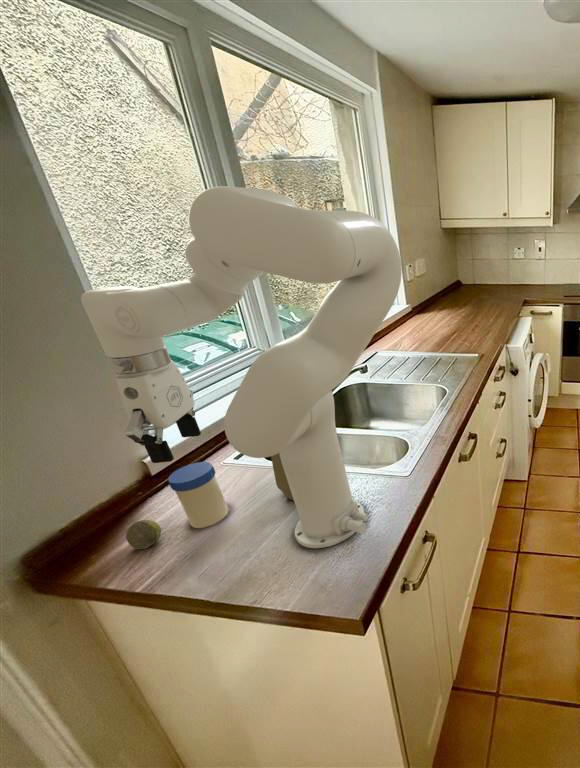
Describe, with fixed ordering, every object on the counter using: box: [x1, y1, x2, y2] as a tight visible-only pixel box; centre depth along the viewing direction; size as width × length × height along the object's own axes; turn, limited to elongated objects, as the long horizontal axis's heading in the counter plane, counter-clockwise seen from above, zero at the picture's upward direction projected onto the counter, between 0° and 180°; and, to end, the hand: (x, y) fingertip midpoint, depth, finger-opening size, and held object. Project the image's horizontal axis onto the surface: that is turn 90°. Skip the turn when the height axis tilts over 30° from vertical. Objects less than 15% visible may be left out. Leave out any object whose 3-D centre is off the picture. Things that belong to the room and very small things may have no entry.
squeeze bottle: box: [270, 453, 294, 501], centre depth 83 cm, size 8×8×18 cm
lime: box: [125, 519, 162, 550], centre depth 73 cm, size 4×5×5 cm
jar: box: [174, 475, 229, 529], centre depth 78 cm, size 6×6×11 cm
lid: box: [167, 461, 216, 492], centre depth 76 cm, size 7×7×2 cm
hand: (178, 447), depth 74 cm, fingers open, 8 cm apart
